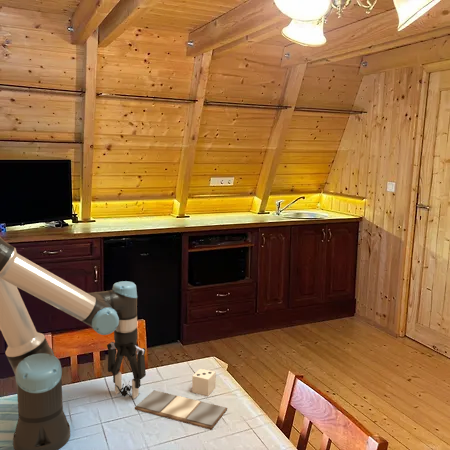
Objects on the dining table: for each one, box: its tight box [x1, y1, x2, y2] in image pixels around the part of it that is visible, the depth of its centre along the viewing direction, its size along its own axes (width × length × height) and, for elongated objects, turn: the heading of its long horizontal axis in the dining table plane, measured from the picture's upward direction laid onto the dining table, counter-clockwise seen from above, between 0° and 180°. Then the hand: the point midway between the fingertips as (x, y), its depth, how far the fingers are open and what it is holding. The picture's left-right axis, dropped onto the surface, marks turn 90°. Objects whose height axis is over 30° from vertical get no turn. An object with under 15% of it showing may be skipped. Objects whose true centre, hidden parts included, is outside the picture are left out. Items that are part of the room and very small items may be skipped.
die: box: [191, 368, 217, 397], centre depth 162 cm, size 6×6×6 cm
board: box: [134, 389, 228, 430], centre depth 150 cm, size 27×12×1 cm, turn 67°
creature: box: [114, 380, 132, 398], centre depth 159 cm, size 8×5×8 cm
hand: (126, 394), depth 158 cm, fingers closed on creature, 6 cm apart
